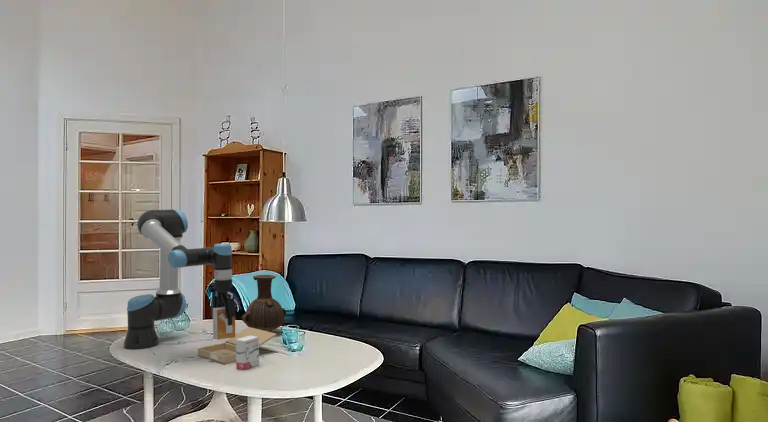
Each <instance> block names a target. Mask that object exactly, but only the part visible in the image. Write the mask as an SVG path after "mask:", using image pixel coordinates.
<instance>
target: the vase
mask: <svg viewBox="0 0 768 422" xmlns="http://www.w3.org/2000/svg"><path fill="white" fill-rule="evenodd" d="M252 277H253V280H254V281H256V285H257V297H256V298H255V299H253V300H252V301H251V302H250V304H249V305H248V306H247V308H246V310H245V313H244V314H243V315H242V316H241V321H242V322H243V323H244V324H245V325H246V326H247V328H248V327H251V328H255V329H259V330H263V331H267V332H271V333H272V331H275V330H277V329H279V328H280V327H281V326H282V325H284V323H285V317H286V316H287V311H286V309H285V308H284V307H282V305H281V304H280V302H279V301H278V300H277V299H274V298H273V295H272V283H273V280H274V279H276V277H277V276H276V275H274V274H256V275H253V276H252Z"/></svg>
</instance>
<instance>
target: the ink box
mask: <svg viewBox="0 0 768 422" xmlns="http://www.w3.org/2000/svg"><path fill="white" fill-rule="evenodd" d="M235 346H236V366H235V368H236V369H238V370H243V371H246V370H248V369H250V368H251V369H252V368H254V367H257V366H259V365H260V349H259V348H260V346H259V337H256V336H246V337H242V338H239V339H237V340H236V345H235Z"/></svg>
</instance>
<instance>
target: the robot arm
mask: <svg viewBox="0 0 768 422" xmlns="http://www.w3.org/2000/svg"><path fill="white" fill-rule="evenodd" d="M136 226H137V230H138V232H139V233H140V234H141V235H142V236H143V237H144V238H145V239H149V240H150V241H151V242H153V244H155V245H156V246H157V247H158V248H159V249H160V250H159V251H160V252H159V255H160V256H159V257H160V258H159V288H158V289H157V290H156V291H155V295H153V294H140V295H136V296H134V297H132V298H130V299H128V300H127V307H126V311H127V313H126V314H127V332H126V335H125V339H124V341H123V347H124V348H125V349H129V350H141V349H148V348H152V347H155V346H158V344H159V343H160V342H159V336H158V334H157V331H156V327H155V322H157V321H164V320H169V319H172V320H173V319H174V318H178V317H181V316H182V315H183V314H184V313H185V311H186V306H187V300H186V297H185V295H184V294H183V293H182V290H181V289H180V288H179V268H187V267H198V266H208V265H209V266H211V265H213V267H214V268H213V271H214V272H213V276H214V279H215V280H213V281H214V282H213V283H214V286H213V287H214V289H216V290H214V291H213V292H212V294H213V296H212V297H213V298H212V299H213V301H212V309H213V308H218V307H225V311H226V316H227V317H225V318H226V333H232V317H234V316H235V317H236V306H235V293H232V292H231V290H230V289H232V288H233V279H232V278H233V250H232V244H230V243H214V245H213V247H209V246H205V247H202V248H198V247H197V248H187V247H185V245H183V244H182V243H181V242H180V241H181V239H182V238H183V236H184V235H183V234H184V233H186V232H187V230H188V229H189V228H188V226H189V222H188V217H187V216H186V213H184V212H183V211H182V210H181V209H149V210H147V211H145V212H143V213H142V214H141V215H140V216H139V218H138V220H137V223H136Z"/></svg>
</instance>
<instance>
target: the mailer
mask: <svg viewBox="0 0 768 422" xmlns="http://www.w3.org/2000/svg"><path fill="white" fill-rule="evenodd" d="M197 356H198V357H201V358H204V359H206V358H207V359H206V360H209V359H210V361H213V362H215V363H218V364H220V365H221V364H222V365H229V364H232V363H235V362H236V345H232V344H229V343H226V342H221V343H217V344H212V345H208V346H204V347H203V346H202V347H199V348H198V347H197Z"/></svg>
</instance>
